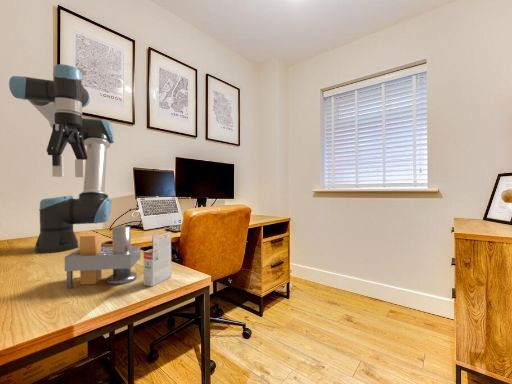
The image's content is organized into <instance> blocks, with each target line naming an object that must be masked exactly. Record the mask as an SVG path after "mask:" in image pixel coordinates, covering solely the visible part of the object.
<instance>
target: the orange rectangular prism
mask: <svg viewBox="0 0 512 384" xmlns="http://www.w3.org/2000/svg"><path fill="white" fill-rule="evenodd" d="M101 244H102V234H101V232H100V233H99V232H98V233H84V234H82V235H80V236H79V249H80V254H97V253H99V252H101ZM79 272H80V277H79V278H80V285H90V284H91V285H92V284H97V283H98V282H99V281H100V280H102V270H82V271H79Z"/></svg>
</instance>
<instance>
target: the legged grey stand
mask: <svg viewBox="0 0 512 384" xmlns="http://www.w3.org/2000/svg"><path fill="white" fill-rule="evenodd" d="M111 231H112V233H111V234H112V241H113V247H101V252H99V253H97V254H80V248H79V249H78V250H76V251H73V252H72V253H69V254H68V255H66V256H64V272H66V289H69V290H70V289H73V287H74V285H73V284H74V278H73V277H74V274H73V272H76V271H79V272H80V271H82V270H101V271H102V270H112V274H110V275H109V276H107V277H106V283H107V284H108V285H112V286H117V285H118V286H120V285H126V284H129V283H131V282H135V280H137V273H136V272H133V271H132V270H131V269H132V267H134V265H135V264H136V263H137V262H138V261H140V260H141V245H131V244H132V243H131V226H130V225H129V226H128V225H123V226H121V225H119V226H114V227H112V230H111Z"/></svg>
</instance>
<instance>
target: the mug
mask: <svg viewBox="0 0 512 384" xmlns="http://www.w3.org/2000/svg"><path fill="white" fill-rule="evenodd" d="M101 247H113V240H107V241H103V242H101Z"/></svg>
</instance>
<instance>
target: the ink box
mask: <svg viewBox="0 0 512 384" xmlns="http://www.w3.org/2000/svg"><path fill="white" fill-rule="evenodd" d="M171 233H172V232H171V230H170V231H167V232H163V233H159V234H154V235H152V236H151V238H152V239H151V240H152V241H151V242H152V249H148V250H145V251H143V285H145V286H148V287H154V286H157V285H159V284H161V283H162V282H165V281H167V280H169V279H170V278H172V234H171ZM162 236H165V237H163V238H161V237H162Z"/></svg>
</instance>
